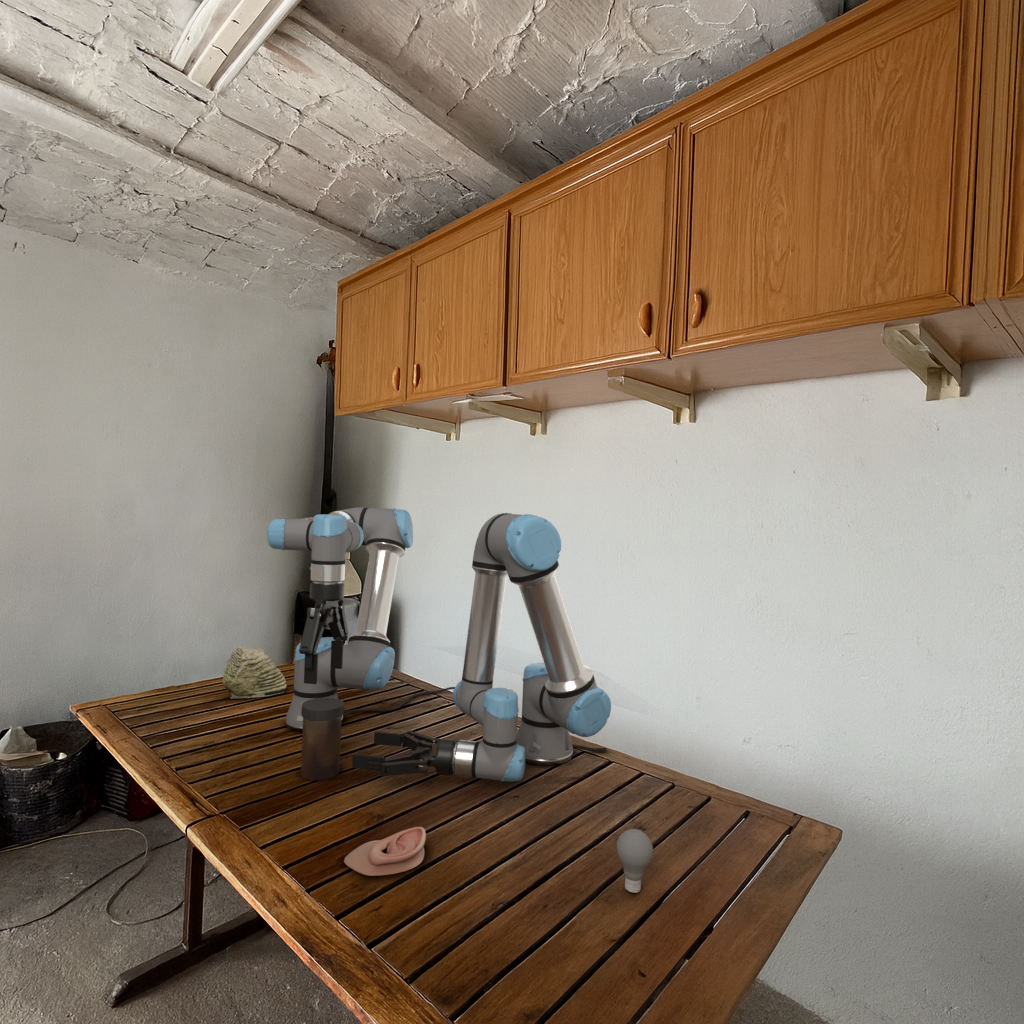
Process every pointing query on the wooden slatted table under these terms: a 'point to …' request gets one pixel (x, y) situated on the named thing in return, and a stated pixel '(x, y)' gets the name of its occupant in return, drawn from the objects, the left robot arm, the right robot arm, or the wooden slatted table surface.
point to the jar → (321, 749)
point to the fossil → (252, 674)
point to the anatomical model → (389, 853)
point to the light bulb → (634, 857)
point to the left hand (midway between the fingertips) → (323, 675)
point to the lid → (322, 709)
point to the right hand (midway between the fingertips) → (364, 748)
